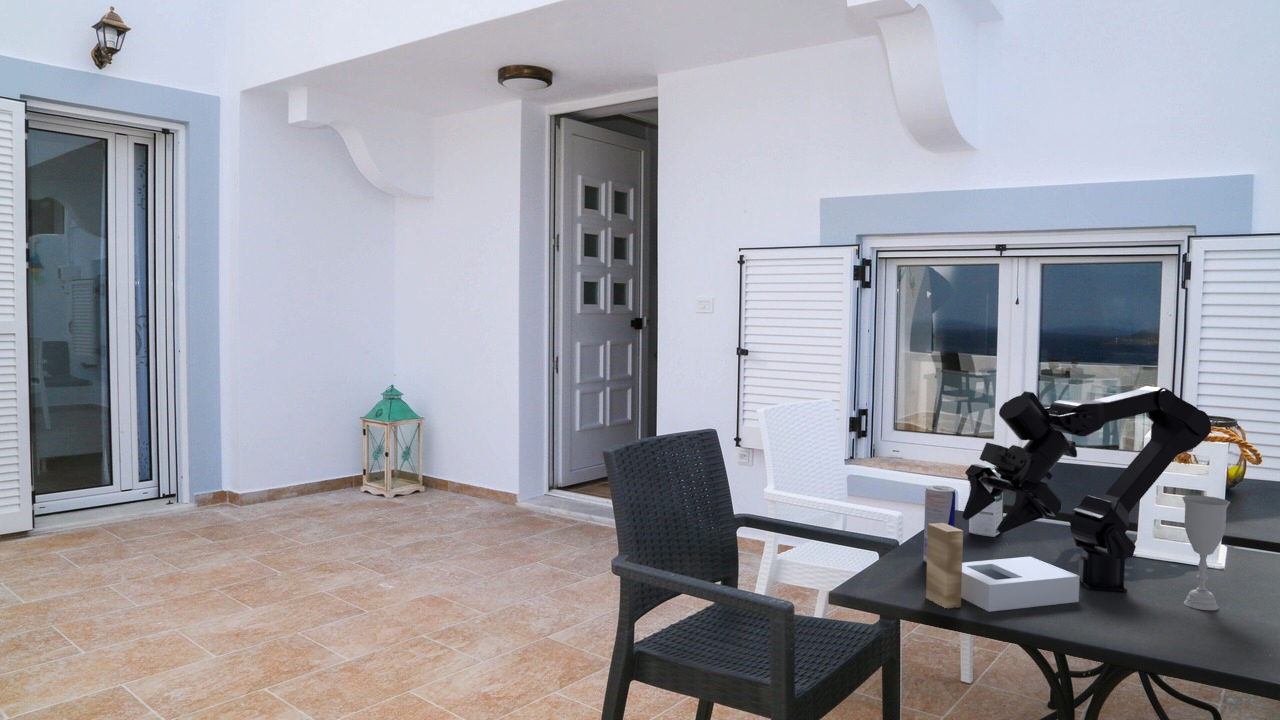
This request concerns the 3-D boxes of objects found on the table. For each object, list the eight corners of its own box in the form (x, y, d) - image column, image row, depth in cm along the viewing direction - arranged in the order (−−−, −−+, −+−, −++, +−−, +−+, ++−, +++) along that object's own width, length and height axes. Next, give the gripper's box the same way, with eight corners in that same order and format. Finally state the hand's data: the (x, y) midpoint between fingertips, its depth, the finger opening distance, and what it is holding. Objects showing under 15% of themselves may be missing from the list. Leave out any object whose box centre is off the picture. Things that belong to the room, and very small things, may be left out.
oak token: (941, 596, 154) (943, 522, 153) (960, 606, 148) (963, 530, 148) (926, 598, 153) (927, 523, 152) (945, 608, 148) (947, 531, 147)
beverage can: (955, 568, 170) (957, 491, 169) (925, 566, 171) (927, 489, 170) (951, 559, 176) (953, 485, 175) (921, 558, 177) (923, 483, 176)
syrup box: (995, 537, 192) (997, 471, 192) (967, 533, 196) (969, 468, 195) (1003, 532, 197) (1005, 467, 196) (976, 527, 201) (978, 464, 200)
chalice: (1225, 615, 145) (1231, 506, 144) (1177, 607, 149) (1181, 501, 147) (1224, 602, 151) (1229, 498, 150) (1177, 595, 155) (1182, 493, 154)
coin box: (1029, 580, 163) (1030, 556, 162) (1078, 601, 151) (1079, 575, 151) (944, 589, 158) (945, 564, 157) (988, 611, 146) (989, 585, 146)
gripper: (975, 419, 161) (921, 482, 159) (1049, 434, 143) (989, 506, 141) (1010, 460, 164) (957, 523, 162) (1087, 480, 146) (1029, 551, 144)
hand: (981, 524), depth 152 cm, fingers open, 9 cm apart
